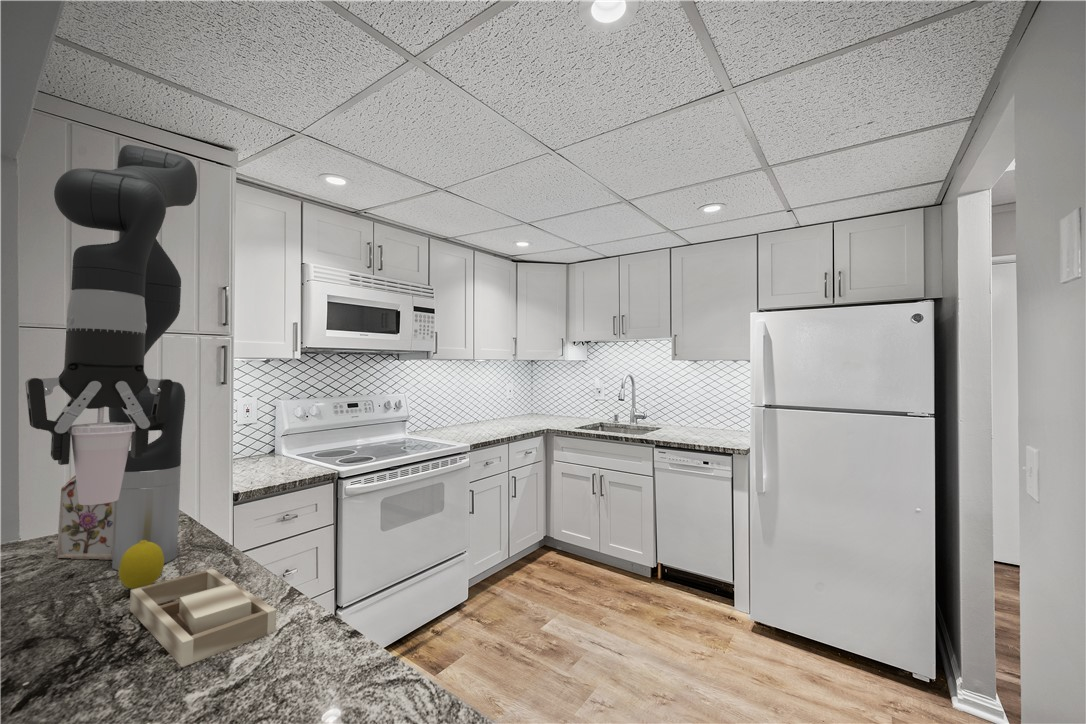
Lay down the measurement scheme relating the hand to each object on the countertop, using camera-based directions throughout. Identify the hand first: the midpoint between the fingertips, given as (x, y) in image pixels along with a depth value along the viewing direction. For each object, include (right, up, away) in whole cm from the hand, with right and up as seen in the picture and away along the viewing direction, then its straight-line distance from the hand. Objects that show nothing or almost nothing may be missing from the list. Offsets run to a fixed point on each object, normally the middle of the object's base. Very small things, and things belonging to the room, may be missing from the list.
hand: (101, 460), depth 61 cm
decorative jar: (-29, -25, +34) cm, 51 cm away
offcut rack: (+10, -24, +4) cm, 26 cm away
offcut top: (+14, -20, +1) cm, 25 cm away
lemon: (-8, -24, +15) cm, 30 cm away
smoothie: (0, -5, 0) cm, 5 cm away
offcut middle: (+14, -22, +1) cm, 26 cm away
